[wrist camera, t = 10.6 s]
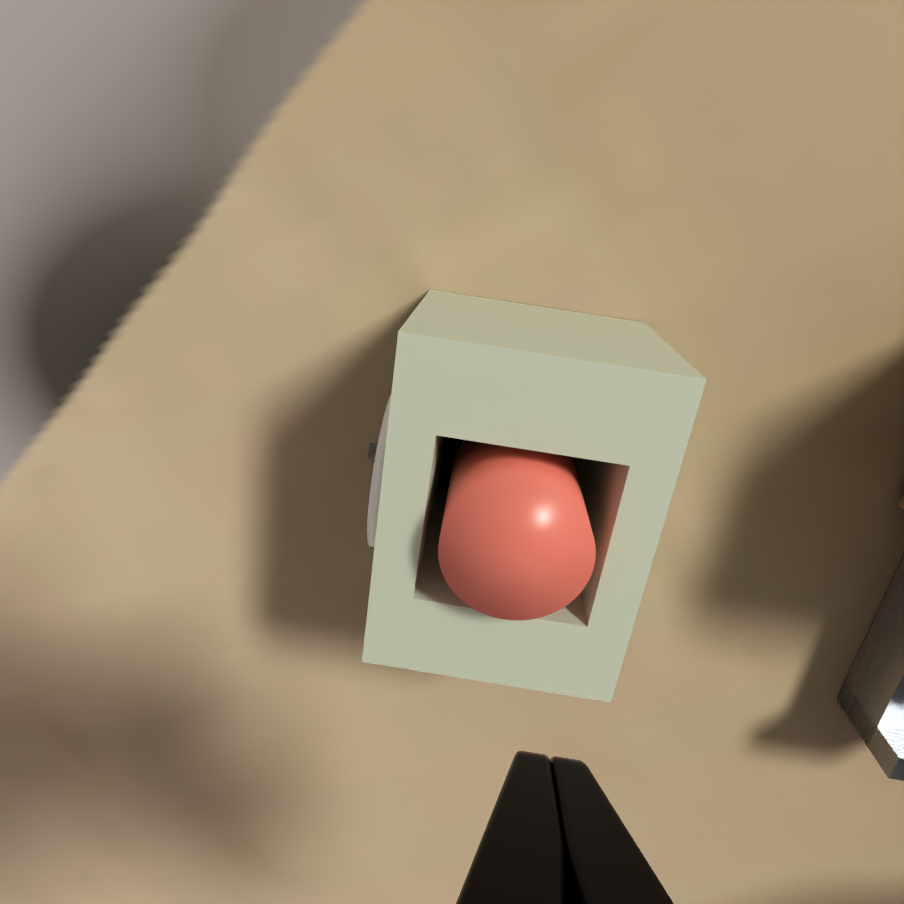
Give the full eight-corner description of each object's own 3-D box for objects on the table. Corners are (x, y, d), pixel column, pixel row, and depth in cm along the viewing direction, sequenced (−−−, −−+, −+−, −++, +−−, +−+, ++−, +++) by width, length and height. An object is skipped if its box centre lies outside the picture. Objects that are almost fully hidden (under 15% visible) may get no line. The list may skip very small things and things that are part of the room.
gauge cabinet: (582, 568, 21) (611, 702, 16) (384, 536, 21) (341, 658, 16) (644, 322, 18) (706, 379, 13) (413, 286, 18) (373, 327, 13)
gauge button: (561, 539, 18) (577, 631, 14) (444, 520, 18) (428, 607, 14) (587, 428, 16) (611, 497, 13) (461, 409, 16) (449, 471, 13)
